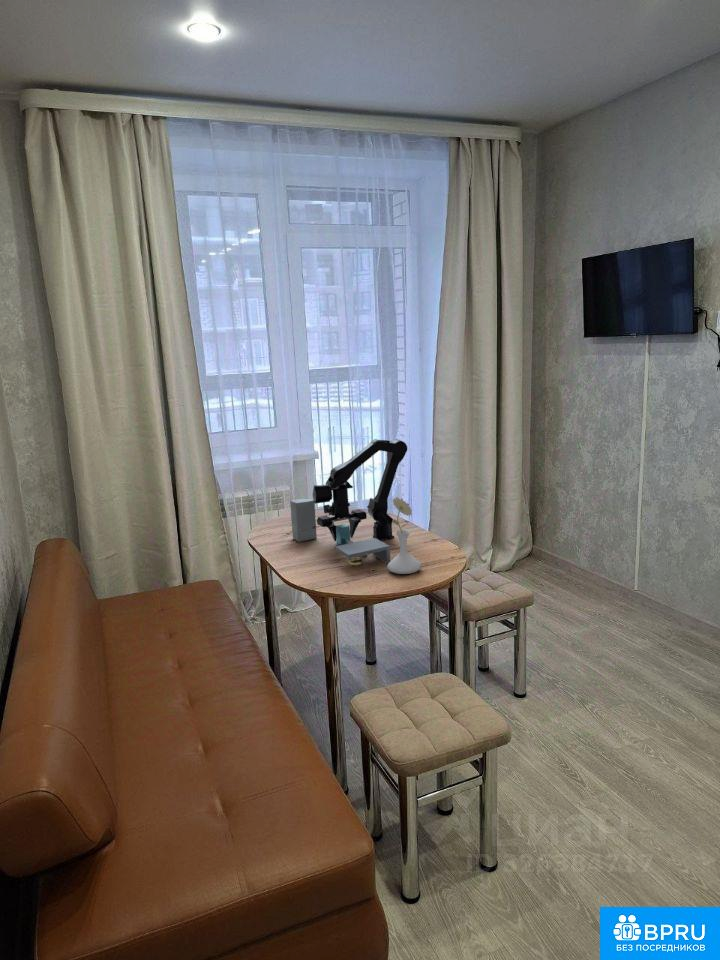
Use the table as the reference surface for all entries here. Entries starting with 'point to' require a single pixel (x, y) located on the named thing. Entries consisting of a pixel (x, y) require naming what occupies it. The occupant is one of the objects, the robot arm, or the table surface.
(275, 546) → the table surface
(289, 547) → the table surface
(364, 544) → the shelf
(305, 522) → the skincare box
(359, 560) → the token
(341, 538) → the blade tool
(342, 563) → the table surface
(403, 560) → the flower in vase
